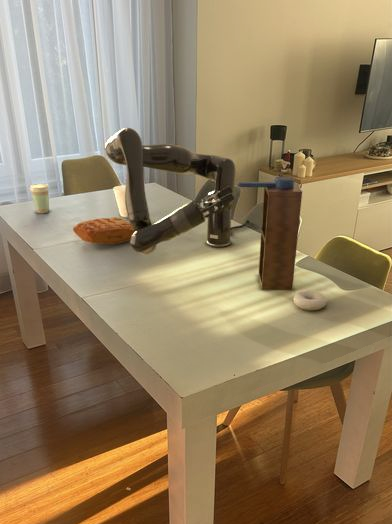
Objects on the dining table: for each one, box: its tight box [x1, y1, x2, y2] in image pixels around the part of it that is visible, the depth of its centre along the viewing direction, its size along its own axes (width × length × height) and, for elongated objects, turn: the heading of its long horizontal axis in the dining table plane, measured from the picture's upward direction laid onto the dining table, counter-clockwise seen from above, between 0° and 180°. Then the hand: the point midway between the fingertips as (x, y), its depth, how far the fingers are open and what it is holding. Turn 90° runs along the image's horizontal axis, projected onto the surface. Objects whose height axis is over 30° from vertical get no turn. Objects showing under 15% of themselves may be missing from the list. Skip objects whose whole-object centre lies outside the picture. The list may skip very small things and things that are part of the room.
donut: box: [293, 290, 327, 311], centre depth 167 cm, size 10×4×10 cm
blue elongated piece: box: [237, 176, 295, 189], centre depth 166 cm, size 17×6×2 cm, turn 90°
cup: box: [112, 184, 128, 218], centre depth 246 cm, size 12×12×12 cm
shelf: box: [257, 181, 303, 291], centre depth 175 cm, size 10×12×32 cm
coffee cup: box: [29, 183, 50, 214], centre depth 251 cm, size 8×9×12 cm
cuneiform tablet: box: [72, 216, 135, 245], centre depth 216 cm, size 22×17×8 cm
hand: (232, 192), depth 168 cm, fingers open, 8 cm apart
